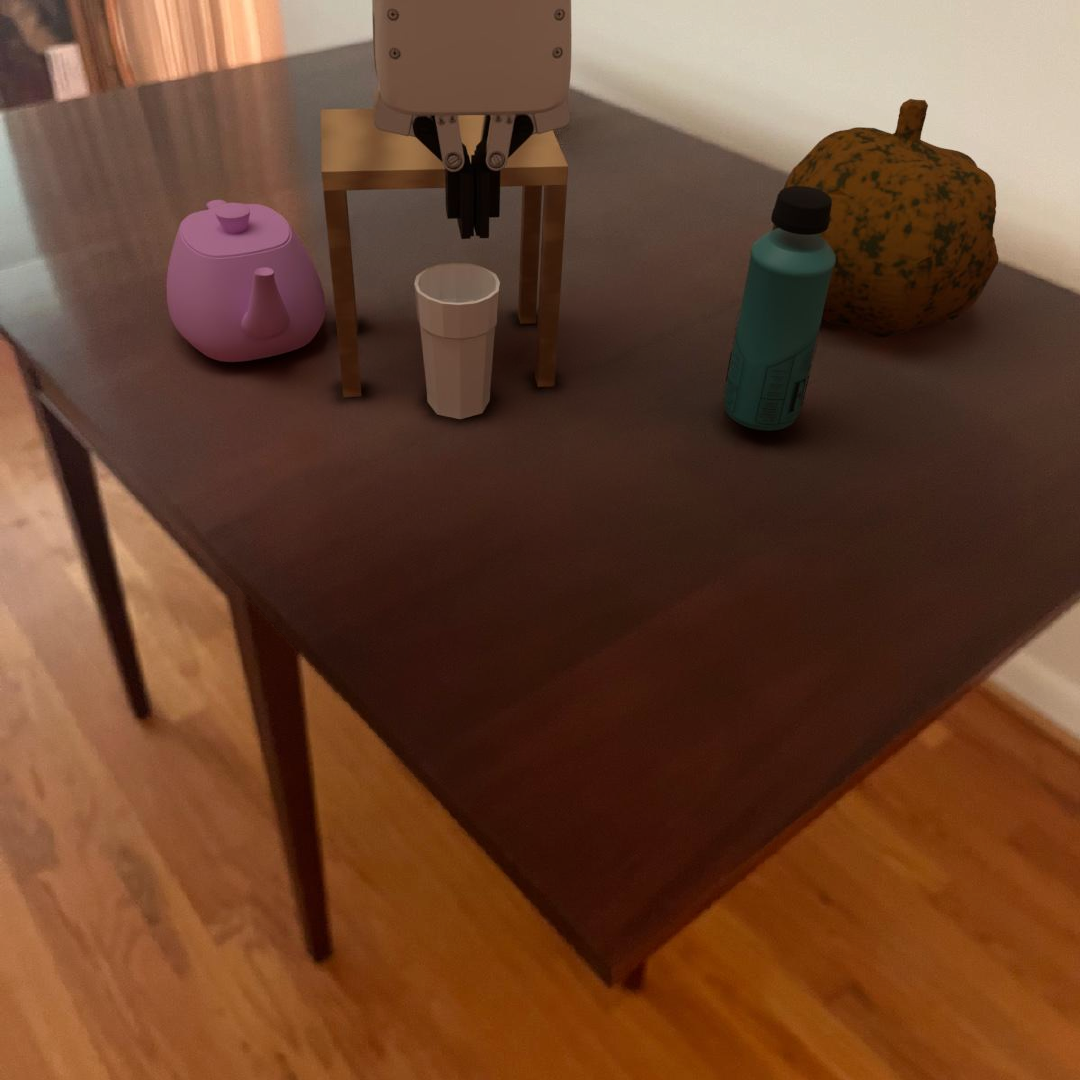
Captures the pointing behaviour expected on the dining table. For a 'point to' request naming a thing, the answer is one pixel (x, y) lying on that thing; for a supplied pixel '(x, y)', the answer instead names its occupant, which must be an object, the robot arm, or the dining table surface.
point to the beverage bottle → (781, 313)
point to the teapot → (242, 283)
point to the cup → (457, 335)
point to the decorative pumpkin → (901, 225)
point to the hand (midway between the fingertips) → (472, 227)
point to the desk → (405, 163)
